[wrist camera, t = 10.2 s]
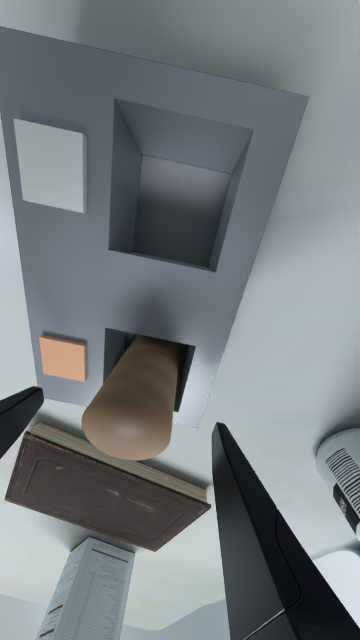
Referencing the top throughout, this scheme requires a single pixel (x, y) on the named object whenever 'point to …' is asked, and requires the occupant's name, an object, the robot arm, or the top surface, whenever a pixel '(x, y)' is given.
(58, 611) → the supplement box
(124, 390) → the walnut peg
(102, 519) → the hardcover book
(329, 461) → the supplement can
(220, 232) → the socket block
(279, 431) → the top surface
